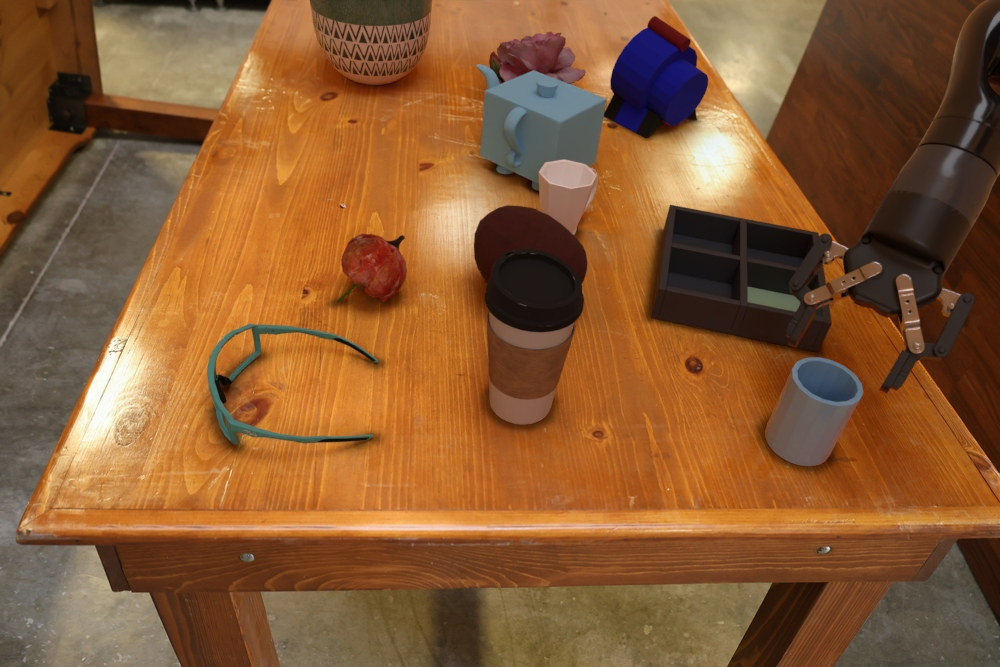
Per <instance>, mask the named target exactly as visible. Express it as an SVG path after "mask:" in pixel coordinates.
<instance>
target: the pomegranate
mask: <svg viewBox="0 0 1000 667" xmlns="http://www.w3.org/2000/svg"><path fill="white" fill-rule="evenodd" d="M405 239H406V236H405V235H403V234H402V235H401V234H400V235H399V236H398V237H397V238H396V239H393V240H386V239H385V238H383V236H380V235H378V234H372V233H360V234H359V235H356V236H354V237H352V238H351V239H350V240H349V241H348V242H347V245H346V247H345V249H344V250H343V253H342V255H341V259H340V260H341V261H340V262H341V264H340V265H341V268H342V272H343V274H344V275H345V276H346V277H348V278H349V279H350V280H351V281H353V282H354V283H353V284H352V285H351V287H349V289H348V290H347V291H345V292H344V293H343V294H342V295H341V296H340V297H339V298H338V299H337V300H336V302H337V303H340V302H341V301H342V300H344V299H345V298H346V297H347V296H349V295H351V293H352V291H353V290H354V289H355V288H356V287H358V286H360V288H362V289H363V290H364V293H365V294H366V295H368V296H369V297H372V298H374V299H375V300H376V301H377V302H379V303H384V302H386V301H389V300H390V299H391V298H392V297H394V296H395V295H397V294H398V293H399V291H400V290H401V288H402V287H403V285H404V284H405V281H406V279H407V273H408V267H407V261H406V259H405V257H404V255H403V254H402V252H400V245H401V243H402V242H403V241H404V240H405Z"/></svg>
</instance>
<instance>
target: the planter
mask: <svg viewBox="0 0 1000 667" xmlns="http://www.w3.org/2000/svg"><path fill="white" fill-rule="evenodd" d="M309 4H310V12H311V18H312V24H313V25H312V26H313V30H314V34H315V37H316V40H317V43H318V45H319V48H320V50H321V52H322V55H323V57H324V58H325V59H326V60H327V61H328V63H329V65H330V66H331V67H333V69H335V71H337V72H338V73H340V74H341V75H342V76H344V77H345V78H346V79H349V80H350V81H353V82H355V83H358V84H362V85H368V86H382V85H388V84H392V83H395V82H398V81H399V80H401V79H403V78H404V77H406V76H407V75H408V74H409V73H411V72H412V71H413V69H415V68H416V66H417V65H418V64H419V63H420V61H421V59H422V57H423V56H424V53H425V51H426V47H427V45H428V40H429V36H430V32H431V23H432V22H431V21H432V11H433V9H432V8H433V0H309Z"/></svg>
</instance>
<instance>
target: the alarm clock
mask: <svg viewBox="0 0 1000 667" xmlns="http://www.w3.org/2000/svg"><path fill="white" fill-rule="evenodd" d="M691 43H692V41H691V39H690V38H689V37H688V36H686V35H684V34H683V33H682V32H680V31H679V30H677V29H675V27H672V26H671V25H670V24H668V23H667V22H665V21H664V20H663V19H660V18H659V17H658V16H656V15H654V16H652V17H650V19H649V21H648V22H647V26H646V28H643V29H642V30H640V31H639V32H637V34H635V35H634V36H632V38H631V39H630V40H629V42H628V43H627V44H626V45H625V46H624V47H623V49H622V51H621V52H620V54H619V55H618V57H617V59H616V61H615V64H614V66H613V68H612V71H611V76H610V80H609V81H610V89H611V92H612V93H613V95H612V96H611V98H610V101H609V102H608V104H607V107H606V108H605V112H604V117H605V118H607V119H609V120H610V121H611V122H614V123H616V124H618V125H619V126H622V127H623V128H626V129H627V130H630V131H632V132H634V133H635V134H637V135H639V136H641V137H643V138H645V139H647V138H649V137H650V136H651V135H652V134H654V133H655V132H656V131H657V130H658V129H659V128H660V127H661V126H662V125H664V124H666V125H667V126H671V127H673V126H677V125H679V124H681V123H683V122H684V121H685V120H687V119H688V118H689V119H692V120H695V121H697V120H698V119H697V111H696V110H697V108H698V107H699V106H700V104H701V102H702V100H703V98H704V96H705V95H706V92H707V89H708V86H709V77H708V74H707V73H705V72H704V71H702V70H700V68H697V66H698V55H697V52H696V50H695V49H694V48H692V47H691Z"/></svg>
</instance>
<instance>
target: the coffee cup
mask: <svg viewBox="0 0 1000 667" xmlns="http://www.w3.org/2000/svg"><path fill="white" fill-rule="evenodd" d="M584 297H585V296H584V293H583V283H581V279H580V277H579V275H578V274H577V273H576V271H575V270H574V269H573V268H572V267H571V266H570V265H569V264H567V263H566V262H564V261H563V260H562V259H560V258H558V257H556V256H554V255H552V254H550V253H548V252H544V251H541V250H535V249H520V250H513V251H508V252H506V253H504V254H503V255H502V256H500V257H499V258H498V259H497V260H496V262H495V263H494V265H493V267H492V271H491V275H490V279H489V281H488V282H487V283H486V286H485V292H484V303H485V306H486V308H487V310H488V311H487V314H486V334H487V338H486V339H487V362H488V363H487V364H488V365H487V366H488V381H489V382H488V386H489V387H488V388H489V389H488V391H489V392H488V399H489V400H488V401H489V405H490V409H491V410H492V412H493V413H494V414H495V415H496V416H497V417H498V418H500V419H501V420H502V421H505V422H507V423H510V424H513V425H514V424H515V425H519V426H520V425H522V426H524V425H532V424H536V423H538V422H541V421H542V420H544V419H545V418H546V417H547V416H548V414H549V413H550V411H551V409H552V405H553V401H554V398H555V395H556V392H557V387H558V385H559V382H560V379H561V376H562V372H563V369H564V366H565V363H566V360H567V356H568V353H569V350H570V348H571V344H572V340H573V338H574V335H575V331H576V322H577V321H578V320H579V318H580V317H581V315H582V313H583V311H584V310H583V309H584V304H585V298H584Z"/></svg>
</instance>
